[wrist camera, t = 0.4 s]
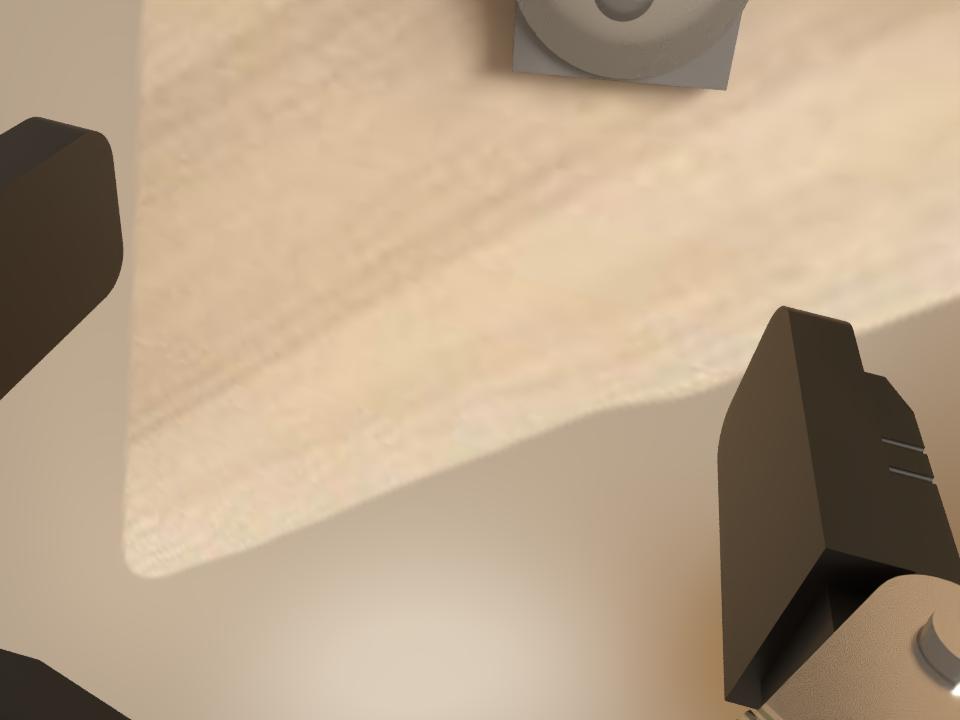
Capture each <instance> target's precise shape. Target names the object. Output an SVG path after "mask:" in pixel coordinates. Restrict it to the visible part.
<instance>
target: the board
mask: <svg viewBox="0 0 960 720" xmlns="http://www.w3.org/2000/svg"><path fill="white" fill-rule="evenodd" d="M741 15H742V13H741V14H740V16H739V17H738V18H737V20H736V21H735V23H734V24H733V25H732V27H731V28H730V29H729V30H728V31H727V32H726V33H725V34H724V36H723V37H722V38H721V39H720V40H719V41H718V42H717V43H715V44H714V45H713V46H712V47H711V48H710V49H709V50H707V51H706V52H705V53H703V54H702V55H700V56H699V57H697V58H696V59H694V60H693V61H691V62H689V63H687V64H685V65H683V66H681V67H679V68H677V69H674V70H672V71H669V72H666V73H664V74H660V75H656V76H651V77H647V78H637V79H616V78H609V77H603V76H599V75H596V74H592V73H589V72H586V71H584V70H581V69H579V68H577V67H575V66H573V65H571V64H569V63H568V62H566V61H565V60H563V59H561V58H560V57H559V56H557V55H556V54H555V53H554V52H552V51H551V50H550V49H549V48H548V47H547V46H546V45H545V44H544V43H543V42H542V41H541V40H540V39H539V38H538V37H537V35H536V34H535V32H534V31H533V30H532V28H531V27H530V26H529V24H528V22H527V21H526V19H525V17H524V15H523V13H522V11H521V10H520V7H519V5H518V2H517V0H516V10H515V29H514V49H513V68H512V71H513V72H524V73H535V74H546V75H558V76H569V77H580V78H591V79H602V80H614V81H625V82H636V83H647V84H658V85H670V86H681V87H692V88H703V89H714V90H726V89H727V84H728V79H729V74H730V69H731V64H732V59H733V54H734V49H735V45H736V40H737V35H738V30H739V25H740V20H741Z"/></svg>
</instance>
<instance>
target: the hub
mask: <svg viewBox="0 0 960 720" xmlns="http://www.w3.org/2000/svg"><path fill="white" fill-rule="evenodd" d="M517 2H518V5H519V7H520V10H521V11H522V13H523V15H524V17H525V19H526V21H527V22H528V24H529V26H530V27H531V28H532V30H533V31H534V32H535V34H536V35H537V37H538V38H539V39H540V40H541V41H542V42H543V43H544V44H545V45H546V46H547V47H548V48H549V49H550V50H551V51H552V52H554V53H555V54H556V55H557V56H559V57H560V58H561V59H563V60H565V61H566V62H568V63H569V64H571V65H573V66H575V67H577V68H579V69H581V70H584V71H586V72H589V73H592V74H596V75H599V76H603V77H609V78H616V79H637V78H647V77H651V76H656V75H660V74H664V73H666V72H669V71H672V70H674V69H677V68H679V67H681V66H683V65H685V64H687V63H689V62H691V61H693V60H694V59H696V58H697V57H699V56H700V55H702V54H703V53H705V52H706V51H707V50H709V49H710V48H711V47H712V46H713V45H714V44H715V43H717V42H718V41H719V40H720V39H721V38H722V37H723V36H724V34H725V33H726V32H727V31H728V30H729V29H730V28H731V27H732V25H733V24H734V23H735V21H736V20H737V18H738V17H739V16H740V14H741V13H742V11H743V9H744V8H745V6H746V4H747V2H748V0H517Z"/></svg>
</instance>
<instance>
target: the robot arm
mask: <svg viewBox="0 0 960 720" xmlns="http://www.w3.org/2000/svg"><path fill="white" fill-rule="evenodd" d="M122 261H123V241H122V233H121V224H120V215H119V206H118V197H117V189H116V179H115V171H114V162H113V155H112V150H111V147H110V144H109V142H108V140H107V139H106V137H105V136H104V135H102V134H101V133H99V132H97V131H93V130H89V129H85V128H81V127H76V126H72V125H69V124H65V123H61V122H57V121H53V120H49V119H45V118H41V117H32V118H29V119H27V120H25V121H23V122H22V123H20V124H18V125H17V126H15V127H13V128H11V129H10V130H8V131H6V132H5V133H3V134H1V135H0V400H1V399H2V398H3V397H4V396H5V395H6V394H7V393H8V392H9V391H10V390H11V389H12V388H13V387H14V386H15V385H16V384H17V383H18V382H19V381H20V380H21V379H22V378H23V377H24V376H25V375H26V374H28V373H29V372H30V371H31V370H32V368H33V367H35V366H36V365H37V364H38V363H39V362H40V361H41V360H42V359H43V358H44V357H45V356H46V355H47V354H48V353H49V352H50V351H51V350H52V349H53V348H54V347H55V346H56V345H57V344H58V343H59V342H60V341H61V340H62V339H63V338H64V337H65V336H66V335H68V334H69V333H70V332H71V331H72V330H73V329H74V328H75V327H76V326H77V325H78V324H79V323H80V322H81V321H82V320H83V319H84V318H85V317H86V316H87V315H88V314H89V313H90V312H91V311H92V310H93V309H94V308H95V307H96V306H97V305H98V304H99V303H100V302H101V301H103V299H104V298H106V297H107V295H108V294H109V293H110V292H111V290H112V289H113V287H114V285H115V283H116V281H117V279H118V276H119V273H120V270H121V266H122ZM924 448H925V447H924V444H923V441H922V437H921V434H920V431H919V428H918V425H917V422H916V419H915V415H914V413H913V411H912V410H911V408H910V407H909V406H908V405H907V404H906V402H905V401H904V400H903V399H902V397H901V396H900V395H899V394H898V392H897V391H896V390H895V389H894V387H893V386H892V385H891V384H890V383H889V381H888V380H887V379H886V378H885V377H883V376H879V375H875V374H871V373H867V372H864V369H863V366H862V362H861V358H860V354H859V350H858V346H857V342H856V338H855V335H854V331H853V328H852V326H851V324H850V323H848V322H846V321H842V320H838V319H834V318H830V317H826V316H822V315H818V314H814V313H810V312H806V311H802V310H798V309H794V308H790V307H786V306H781V307H780V308H778V309H777V310H776V312H775V313H774V314H773V316H772V318H771V319H770V321H769V323H768V325H767V327H766V329H765V332H764V334H763V336H762V338H761V340H760V342H759V344H758V346H757V349H756V351H755V353H754V355H753V357H752V359H751V361H750V363H749V366H748V368H747V370H746V372H745V374H744V376H743V378H742V381H741V383H740V385H739V387H738V389H737V391H736V393H735V395H734V397H733V399H732V402H731V404H730V406H729V408H728V411H727V414H726V417H725V419H724V423H723V426H722V431H721V435H720V440H719V446H718V491H719V492H718V493H719V525H720V558H721V592H722V624H723V625H722V626H723V659H724V691H725V693H724V694H725V701H728V702H732V703H735V704H739V705H743V706H746V707H750V708H754V709H757V710H758V711H756V712H755V713H753V712H752V711H751V710H749V711H747V712H745V713H744V714H743V715H742V716H740V717H739V718H738V719H737V720H960V558H959V554H958V551H957V548H956V545H955V542H954V538H953V536H952V532H951V529H950V526H949V523H948V520H947V516H946V513H945V510H944V507H943V504H942V501H941V498H940V494H939V491H938V488H937V485H936V484H932V481H933V478H934V475H933V472H932V469H931V466H930V463H929V459H928V456H927V454H923V450H924ZM0 720H131V719H129V718H127V717H126V716H124V715H123V714H121V713H120V712H118V711H117V710H115V709H114V708H112V707H111V706H109V705H107V704H106V703H105V702H103V701H101V700H100V699H98V698H97V697H95V696H94V695H92V694H90V693H89V692H88V691H86V690H84V689H83V688H81V687H80V686H78V685H76V684H75V683H74V682H72V681H70V680H69V679H68V678H66V677H64V676H63V675H61V674H60V673H58V672H57V671H55V670H53V669H52V668H51V667H49V666H48V665H46V664H45V663H43V662H42V661H40V660H37V659H34V658H30V657H27V656H23V655H20V654H16V653H13V652H10V651H6V650H3V649H0Z"/></svg>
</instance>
